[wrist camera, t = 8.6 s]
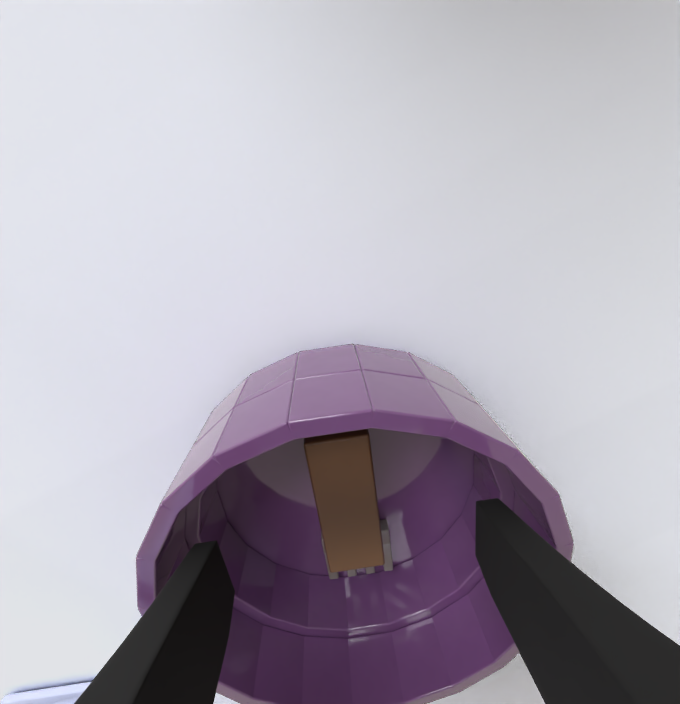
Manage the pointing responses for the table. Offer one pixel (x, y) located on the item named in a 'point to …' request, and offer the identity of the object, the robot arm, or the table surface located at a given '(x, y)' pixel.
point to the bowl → (305, 533)
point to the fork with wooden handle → (347, 503)
